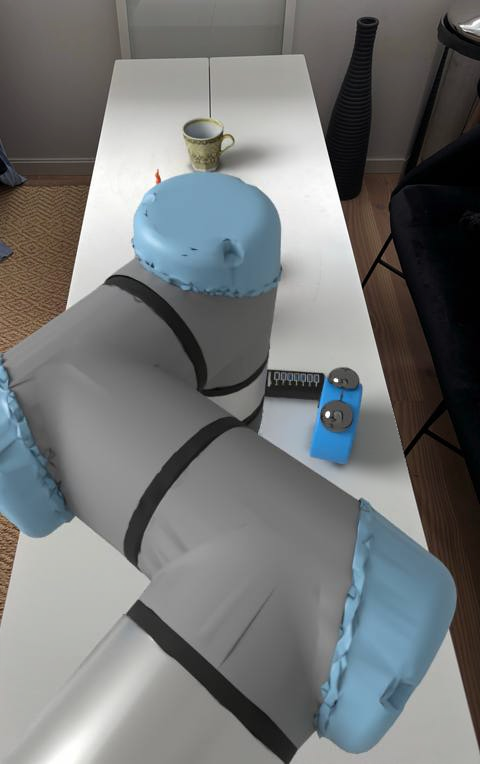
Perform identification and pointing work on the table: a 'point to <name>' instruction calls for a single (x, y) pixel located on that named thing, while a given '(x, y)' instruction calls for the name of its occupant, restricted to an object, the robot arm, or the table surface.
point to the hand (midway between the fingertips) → (215, 505)
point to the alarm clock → (337, 416)
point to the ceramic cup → (204, 142)
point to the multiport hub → (294, 384)
